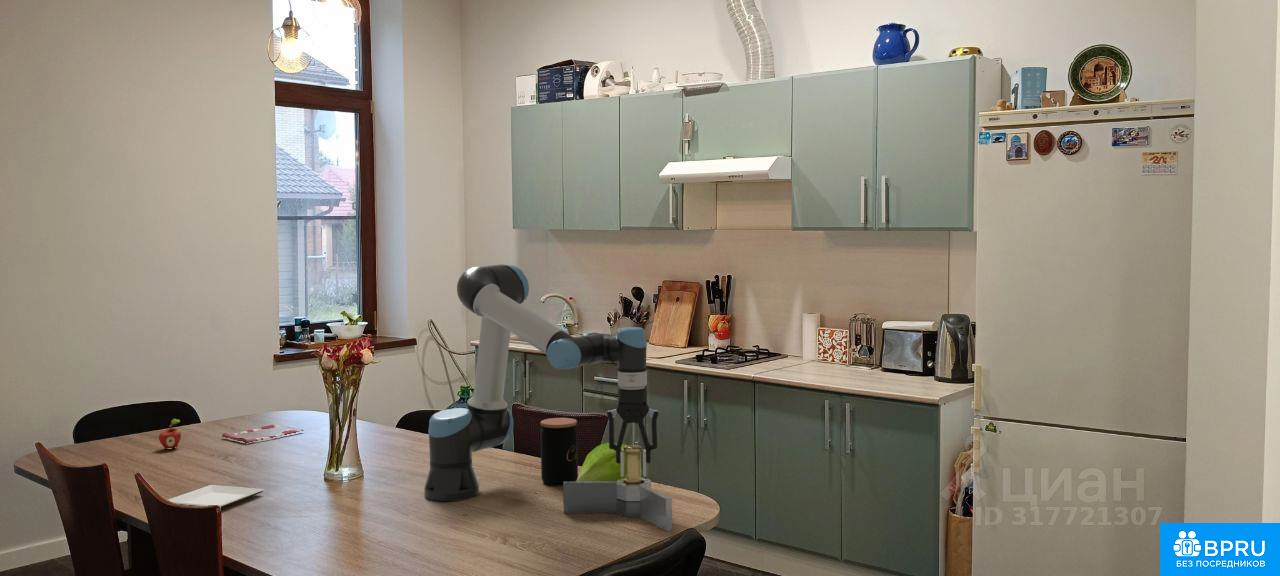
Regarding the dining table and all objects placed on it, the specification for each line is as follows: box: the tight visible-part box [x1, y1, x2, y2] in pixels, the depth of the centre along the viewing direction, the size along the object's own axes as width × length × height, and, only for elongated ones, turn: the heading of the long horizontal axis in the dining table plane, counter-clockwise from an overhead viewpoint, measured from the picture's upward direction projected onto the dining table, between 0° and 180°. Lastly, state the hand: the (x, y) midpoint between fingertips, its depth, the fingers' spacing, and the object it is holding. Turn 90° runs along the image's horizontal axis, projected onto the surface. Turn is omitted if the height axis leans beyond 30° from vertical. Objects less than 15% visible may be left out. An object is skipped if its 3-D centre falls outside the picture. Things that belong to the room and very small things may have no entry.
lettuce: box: [576, 441, 643, 481], centre depth 277 cm, size 15×22×15 cm
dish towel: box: [221, 424, 305, 443], centre depth 361 cm, size 17×23×3 cm
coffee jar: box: [540, 417, 579, 487], centre depth 290 cm, size 11×11×18 cm
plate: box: [167, 484, 265, 509], centre depth 275 cm, size 19×19×2 cm
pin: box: [624, 444, 643, 485], centre depth 259 cm, size 5×5×16 cm
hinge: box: [562, 477, 673, 532], centre depth 253 cm, size 28×21×8 cm
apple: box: [158, 418, 182, 449], centre depth 342 cm, size 8×7×10 cm
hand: (633, 475), depth 259 cm, fingers open, 5 cm apart
